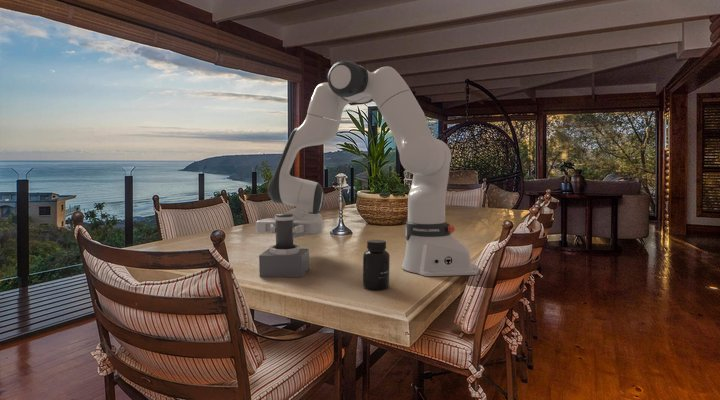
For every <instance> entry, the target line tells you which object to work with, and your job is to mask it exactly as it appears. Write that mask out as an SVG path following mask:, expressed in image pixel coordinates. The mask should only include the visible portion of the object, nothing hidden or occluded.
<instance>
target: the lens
mask: <svg viewBox="0 0 720 400" xmlns="http://www.w3.org/2000/svg"><path fill="white" fill-rule="evenodd" d="M274 218H275V223H276V233H275V245H276V249H292V248H294V245H293V244H294V238H293V233H292V231H293V230H292V227H293V214H290V213H286V212H284V213H275V216H274Z"/></svg>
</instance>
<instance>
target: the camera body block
mask: <svg viewBox="0 0 720 400" xmlns="http://www.w3.org/2000/svg"><path fill="white" fill-rule="evenodd" d="M293 245H294V248H292V249H276V244H274V245H270V247H269V248H268V249H267V250H265V251H262V253H261V254H259V255H258V262H259V263H258V266H259V269H258V271H259V273H258V274H259V277H266V278H268V277H269V278H271V277H272V278H303V277H304V275H305V274H306V272H308V270H309V269H310V248H301V245H298V244H294V243H293Z"/></svg>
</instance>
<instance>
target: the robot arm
mask: <svg viewBox="0 0 720 400" xmlns="http://www.w3.org/2000/svg"><path fill="white" fill-rule="evenodd" d="M372 102H374V104H375V106H376V107H377V109H378V112H380V114H381V116H382V118H383V119H384V121H385V123H386V125H387V127H388V129H389V130H390V132H391V134H392V136H393V140H394V142H395V145H396V148H397V151H398V154H399V161H400V164H401V166H402V167H403V169H404V170H405V171H407V172H408V173H410V174H412V175H413V176H412V179H411V185H410V189H409V192H408V194H407V195H408V196H407V220H406V223H405V239H406V245H405V251H404V252H405V253H404V258H403V261H402V264H401V268H402V269H403V270H405V271H407V272H410V273H414V274H418V275H421V276H423V277H446V276H451V277H452V276H475V275H478V274H479V271H480V270H479V267H478V265H477V264H476V263H474V262H472V258H471V257H472V256H471V253H470V250H469V249H468V247H467V246H466V245H465V244H463V243H462V241H460V240H458V239H457V238H456V237H455V236H453V235H452V233H454V232H455V231H456V227H455V226H454V225H453V224H450V223H448V222H446V198H447V197H446V196H447V189H448V185H449V184H448V183H449V176H450V167H451V161H452V152H451V149H450V148H449V146H448V145H447V143H446V142H444V141H443V140H441V139H438V138H435V137H434V136H433V134H432V132H431V130H430V127H429V125H428V121H427V119H426V114H425V113H424V111H423V109H422V107H421V106H420V104H419V102H418V100H417V99H416V97H415V95H414V94H413V91H412V90H411V88H410V87H409V85H408V83H407V82H406V81H405V79H404V78H403V77H402V76H401V75H400V74H399V72H398V71H397V70H396V69H395V68H393V67H392V66H382V67H379V68H377V69H375V70H374V71H369V70H368V69H367V68H365V67H364V66H361V64H358V63H356V62H354V61H351V60H341V61H337V62H336V63H334V64H333V65H331V68H330V69H329V71H328V73H327V82H326V81H325V82H321V83H319V84H317V86H316V87H315V89H314V91H313V93H312V95H311V98H310V100H309V104H308V108H307V114H306V117H305V119H304V121H303V122H302V123H301V125H300V126H298V127H295V128H294V129H293V130H292V132H291V133H290V135H289V138H288V139H287V142H286V144H285V146H284V148H283V151H282V154H281V156H280V158H279V161H278V165H277V166H276V169H275V170H274V173H273V175H272V176H271V179H270V181H269V183H268V187H267V194H268V197H269V198H270V199H271V201H272V202H273V203H276V204H280V205H281V204H282V205H288V206H291V207H294V208H292V209H290V210H288V211H285V213H290V214H293V227H292V230H293V231H292V233H293V239H294V238H295V239H296V238H299V237H304V236H308V235H309V236H310V235H313V236H314V235H322V234H323V232H324V230H323V229H324V224H323V223H324V219H323V217H322V213H320V212H321V210H322V208H323V206H324V205H323V204H324V200H325V192H324V189H323V187H322V185H321V183H319V182H316V181H315V180H310V179H304V178H300V177H296V176H293V175H291V173H290V172H291V169H292V167H293V164H294V161H295V159H296V157H297V154H298V152H299V151H300V150H302V149H304V148H307V147H313V146H314V147H315V146H321V145H324V144H328V143H330V142H332V141H333V140H334V139H335V138H336V136H337V135H338V131H339V128H340V123H341V120H342V115H343V112H344V109H345V107H346V106H347V105H349V106H358V105H366V104H367V105H368V104H370V103H372ZM255 232H256V233H257V234H276V223H275V217H274V218H271V217H270V218H262V219H259V220H256V221H255ZM475 264H476V265H477V266H476V265H475Z"/></svg>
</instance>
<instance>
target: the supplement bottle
mask: <svg viewBox="0 0 720 400" xmlns="http://www.w3.org/2000/svg"><path fill="white" fill-rule="evenodd" d="M366 249H367V250H366V251H364V253H363V254H362V255H363V257H362V285H363V288H365V289H366V290H369V291H383V290H387V289H388V288H389V287H390V266H391V265H390V264H391V263H390V261H391V260H390V258H391V256H390V253H389V252H388V251H387V250H386V249H387V241H386V240H384V239H369V240H367V243H366Z"/></svg>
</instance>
